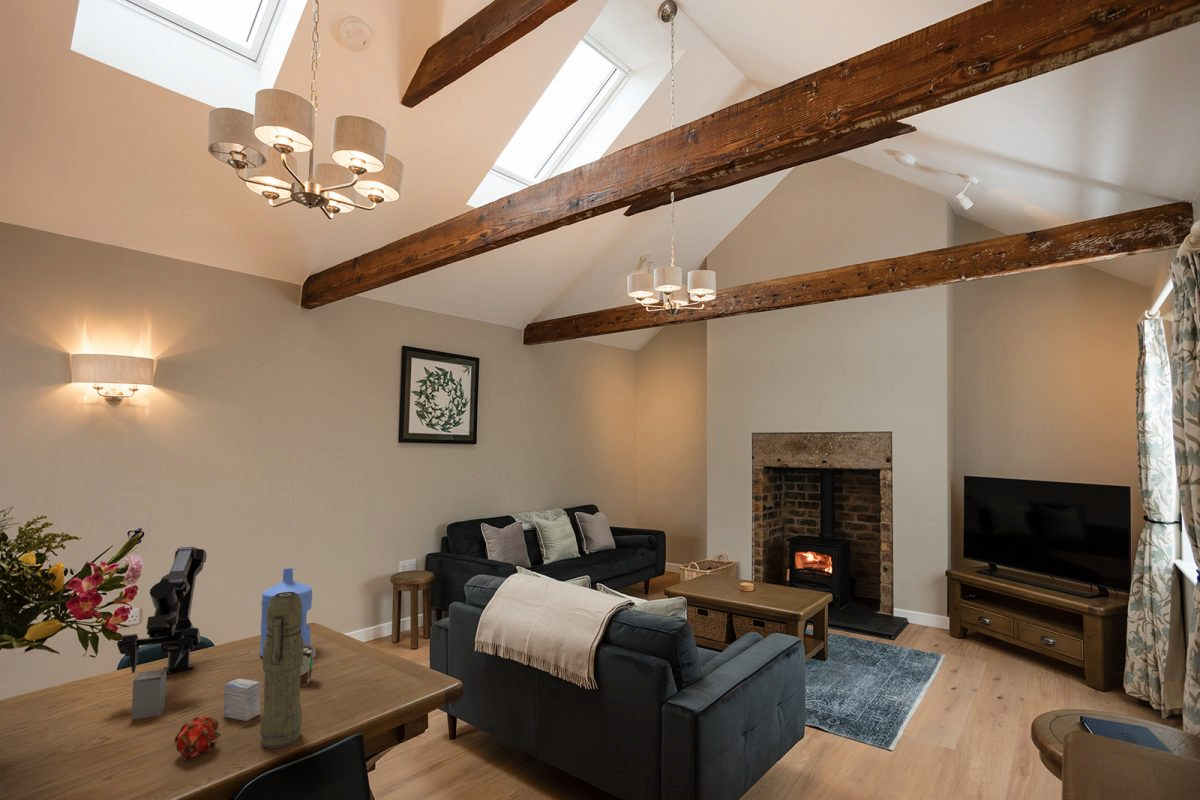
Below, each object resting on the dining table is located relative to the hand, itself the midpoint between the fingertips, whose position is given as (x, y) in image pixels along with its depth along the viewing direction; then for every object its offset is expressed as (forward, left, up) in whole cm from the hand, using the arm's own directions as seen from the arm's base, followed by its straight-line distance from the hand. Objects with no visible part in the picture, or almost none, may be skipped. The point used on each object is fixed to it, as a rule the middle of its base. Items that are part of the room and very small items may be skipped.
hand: (153, 669), depth 167 cm
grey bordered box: (+3, -2, -10) cm, 11 cm away
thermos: (+46, +12, -10) cm, 49 cm away
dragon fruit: (+37, -3, -10) cm, 38 cm away
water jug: (-14, +43, -10) cm, 47 cm away
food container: (+14, +33, -10) cm, 38 cm away
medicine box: (+25, +12, -10) cm, 30 cm away
